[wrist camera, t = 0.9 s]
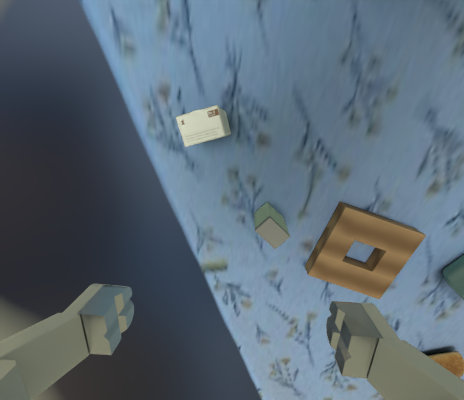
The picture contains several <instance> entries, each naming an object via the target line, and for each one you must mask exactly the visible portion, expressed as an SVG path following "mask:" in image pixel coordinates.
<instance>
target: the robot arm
mask: <svg viewBox="0 0 464 400" xmlns="http://www.w3.org/2000/svg"><path fill="white" fill-rule="evenodd" d="M131 296H132V291H131V288H130V287H125V286H114V285H103V284H93V285H90V286H89V287H88V288H87V289H86V290H85V291H84V292H83V293H82V294H81V295H80V296H79V297H78V298H77V299H76V300H75V301H74V302H73V303H72V304H71V305H70V306H69V307H68V308H67V309H66V310H65V311H64V312H63V313H57V314H55V315H53V316H51V317H49V318H47V319H45V320H43V321H41V322H39V323H37V324H35V325H33V326H31V327H29V328H27V329H25V330H22V331H20V332H18V333H16V334H14V335H12V336H10V337H8V338H6V339H4V340H2V341H0V400H33V399H34V398H35V397H37V396H38V395H39V394H40V393H42V392H43V391H44V390H46V389H47V388H48V387H49V386H51V385H52V384H53V383H54V382H56V381H57V380H58V379H59V378H61V377H62V376H63V375H64V374H66V373H67V372H68V371H69V370H71V369H72V368H73V367H74V366H76V365H77V364H78V363H80V362H81V361H82V360H83V359H85V358H86V357H87V356H88V355H89V354H104V355H105V354H106V355H112V353H113V351H114V350H115V348H116V347H117V345H118V343H119V341H120V340H121V334H120V333H122V332H123V331H125V330H126V329H127V328H128V327H129V325H130V323H131V321H132V318H133V314H134V306H133V303H132V302H131V301H130V297H131ZM329 310H330V312H331V316H330V317H328V318H327V324H326V329H327V336H328V340H329V343H330V346H331V347H333V348H334V349H335V350H336V353H335V359H336V362H337V364H338V367H339V370H340V372H341V375H342V376H349V377H358V378H366V379H367V380H368V382H369V383H370V384H371V385H372V386H373V387H374V388H375V389H376V390H377V391H378V392H379V394H380V395H381V396H382V397H383V398H384V399H385V400H464V381H463V380H462V379H460V378H459V377H457V376H456V375H454V374H453V373H451V372H450V371H448V370H447V369H446V368H444V367H443V366H441V365H440V364H438V363H437V362H435V361H434V360H432V359H431V358H430V357H428V356H427V355H425V354H424V353H422V352H421V351H419V350H418V349H416V348H415V347H413V346H412V345H411V344H409V343H408V342H406V341H404V340H400V339H399V338H398V336H397V335H396V334H395V332H394V331H393V329H392V328H391V327H390V325H389V324H388V322H387V321H386V320H385V318H384V317H383V316H382V314H381V313H380V311H379V310H378V309H377V307H376V306H375V305H374V304H372V303H352V302H336V301H332V302H331V304H330V308H329Z"/></svg>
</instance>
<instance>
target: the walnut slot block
mask: <svg viewBox="0 0 464 400" xmlns="http://www.w3.org/2000/svg"><path fill="white" fill-rule="evenodd" d="M425 236H426V235H425V234H423V233H421V232H420V231H418V230H417V229H415V228H413V227H410V226H407V225H404V224H402V223H399V222H396V221H393V220H390V219H387V218H385V217H382V216H379V215H376V214H373V213H371V212H368V211H365V210H362V209H359V208H356V207H354V206H351V205H348V204H345V203H342V202H339V204H338V206H337V208H336V210H335V212H334V213H333V215H332V217H331V219H330V221H329V223H328V224H327V226H326V228H325V230H324V232H323V234H322V236H321V237H320V239H319V241H318V243H317V245H316V247H315V248H314V250H313V252H312V254H311V256H310V258H309V259H308V261H307V263H306V265H305V268H306V271H307V273H308V275H310V276H313V277H316V278H319V279H322V280H325V281H327V282H330V283H333V284H336V285H339V286H342V287H345V288H348V289H351V290H354V291H357V292H360V293H363V294H365V295H368V296H371V297H374V298H377V299H380V298H381V297H382V295H383V294H384V292H385V291H386V290H387V288H388V287H389V286H390V284H391V283H392V281H393V280H394V279H395V277H396V276H397V275H398V273H399V272H400V270H401V269H402V268H403V266H404V265H405V264H406V262H407V261H408V260H409V258H410V257H411V255H412V254H413V253H414V251H415V250H416V249H417V247H418V246H419V244H420V243H421V242H422V240H423V239H424V238H425ZM354 240H356V241H359V242H362V243H365V244H368V245H370V246H373V247H375V249H374V251H373V252H372V254H371V255H370V257H369V258H368V260H367V261H366V263H364V262H361V261H358V260H355V259H353V258H350V257H347V256H345V255H346V254H347V252H348V250H349V249H350V247H351V245H352V244H353V242H354Z"/></svg>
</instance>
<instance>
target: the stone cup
mask: <svg viewBox="0 0 464 400" xmlns="http://www.w3.org/2000/svg"><path fill="white" fill-rule="evenodd" d="M428 357H430V358H431V359H432V360H434V361H435V362H437V363H438V364H440V365H441V366H443V367H444V368H446V369H447V370H448V371H450V372H451V373H453V374H454V375H456V376H457V377H459V378H460V377H461V376H462V375H463V373H464V361H463V358H462V356H461V355H460V354H459V352H457V351H455V352H448V353H441V354H435V355H429V356H428Z"/></svg>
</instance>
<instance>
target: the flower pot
mask: <svg viewBox="0 0 464 400" xmlns="http://www.w3.org/2000/svg"><path fill="white" fill-rule="evenodd" d="M443 274H444V278H445V280H446V281H447V283H448V284H449V285H450V286H451V287H452V288H453V289H454V290H455V291H456V292H457V293H458V294H459V295H460V296H461V297H462V298H463V299H464V255H463V256H461V257H460V258H459V259H457V260H456V261H454V262H453V263H452V264H450V265H449V266H447V267H446V268H445V269H443Z"/></svg>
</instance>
